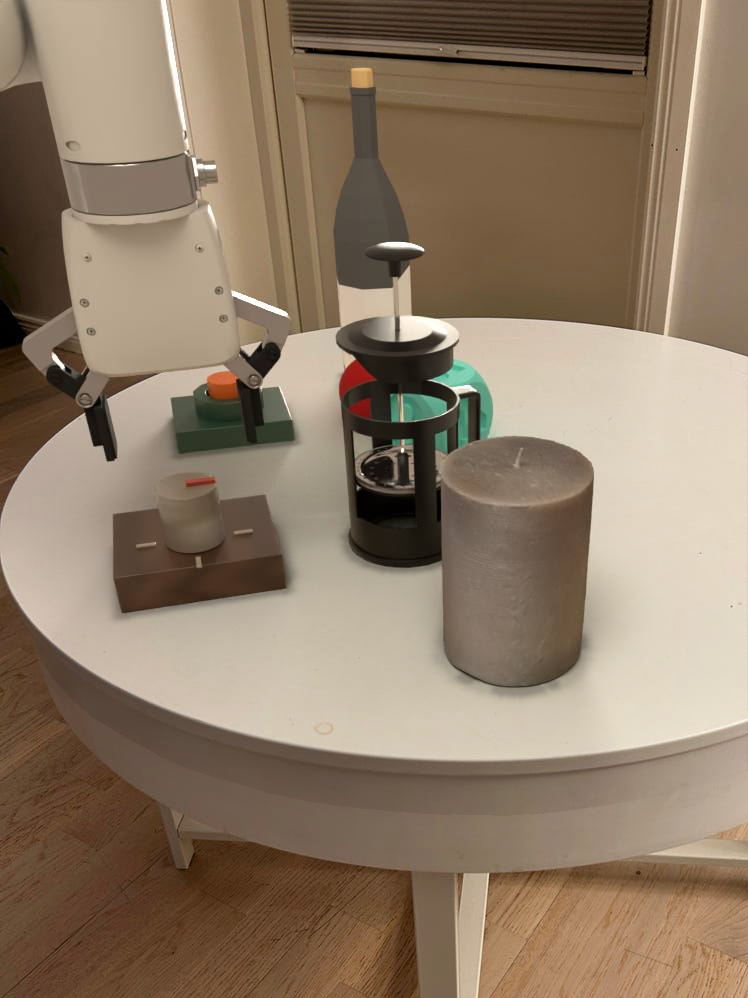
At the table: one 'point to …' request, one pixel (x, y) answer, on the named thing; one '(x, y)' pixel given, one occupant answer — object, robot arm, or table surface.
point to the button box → (227, 421)
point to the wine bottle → (367, 221)
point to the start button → (222, 385)
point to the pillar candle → (515, 557)
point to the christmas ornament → (352, 378)
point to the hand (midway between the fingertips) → (182, 444)
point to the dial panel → (196, 558)
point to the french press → (400, 426)
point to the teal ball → (431, 407)
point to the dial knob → (190, 512)
